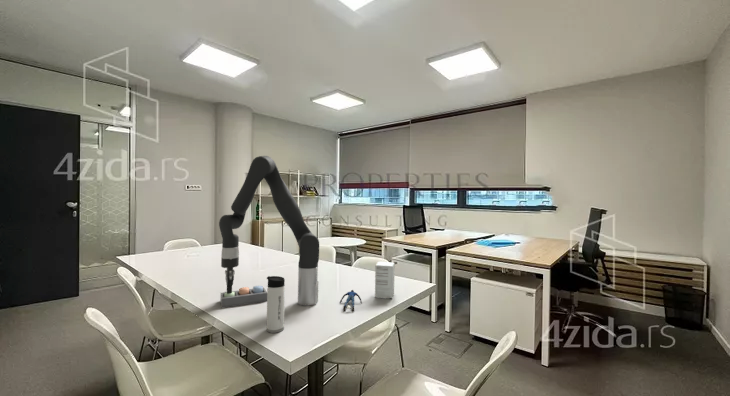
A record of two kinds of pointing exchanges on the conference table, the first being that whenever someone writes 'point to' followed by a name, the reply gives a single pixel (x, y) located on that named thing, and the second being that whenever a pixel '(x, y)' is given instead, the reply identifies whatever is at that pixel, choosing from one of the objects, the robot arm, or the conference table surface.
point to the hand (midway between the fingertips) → (229, 293)
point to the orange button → (243, 291)
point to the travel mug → (275, 304)
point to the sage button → (229, 294)
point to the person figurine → (350, 297)
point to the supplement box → (384, 279)
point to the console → (243, 298)
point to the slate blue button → (257, 289)
